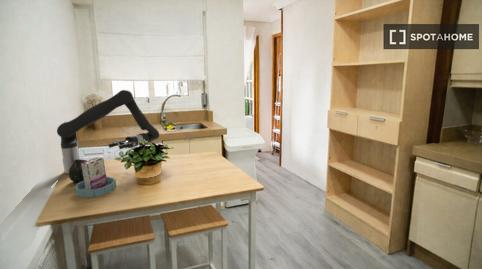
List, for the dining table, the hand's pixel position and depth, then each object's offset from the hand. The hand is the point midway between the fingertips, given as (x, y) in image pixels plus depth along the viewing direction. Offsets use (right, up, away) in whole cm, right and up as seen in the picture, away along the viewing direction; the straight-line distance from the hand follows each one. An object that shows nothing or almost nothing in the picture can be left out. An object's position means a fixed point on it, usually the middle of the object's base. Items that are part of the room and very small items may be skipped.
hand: (114, 146), depth 176 cm
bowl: (-5, -24, -11) cm, 27 cm away
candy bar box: (-5, -23, -11) cm, 26 cm away
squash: (-19, -21, +3) cm, 29 cm away
